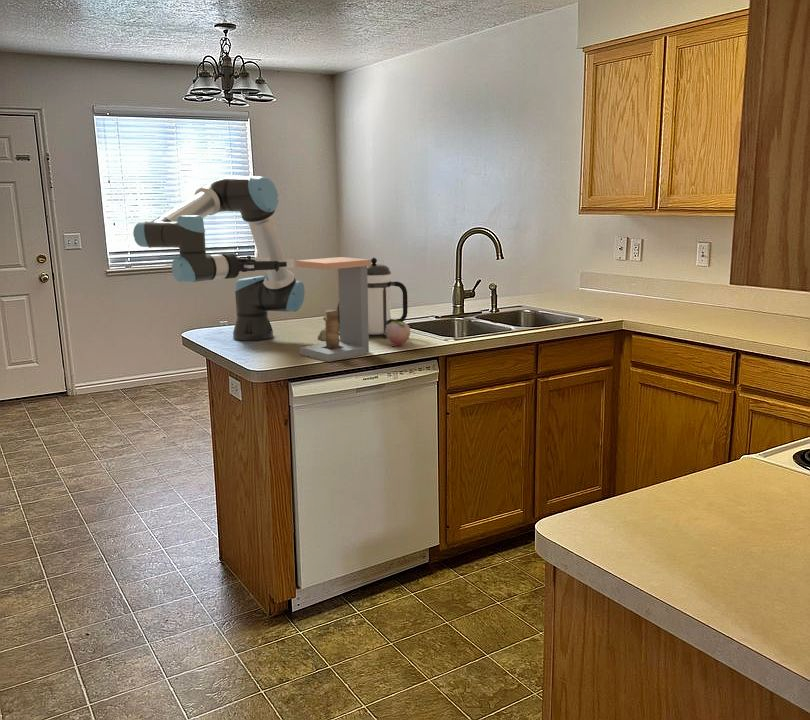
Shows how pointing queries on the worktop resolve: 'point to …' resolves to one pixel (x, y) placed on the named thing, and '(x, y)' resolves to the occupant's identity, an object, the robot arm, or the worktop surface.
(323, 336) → the chocolate bunny
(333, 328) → the peg
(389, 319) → the coffee press
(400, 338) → the decorative fruit
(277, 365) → the worktop surface
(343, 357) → the socket
